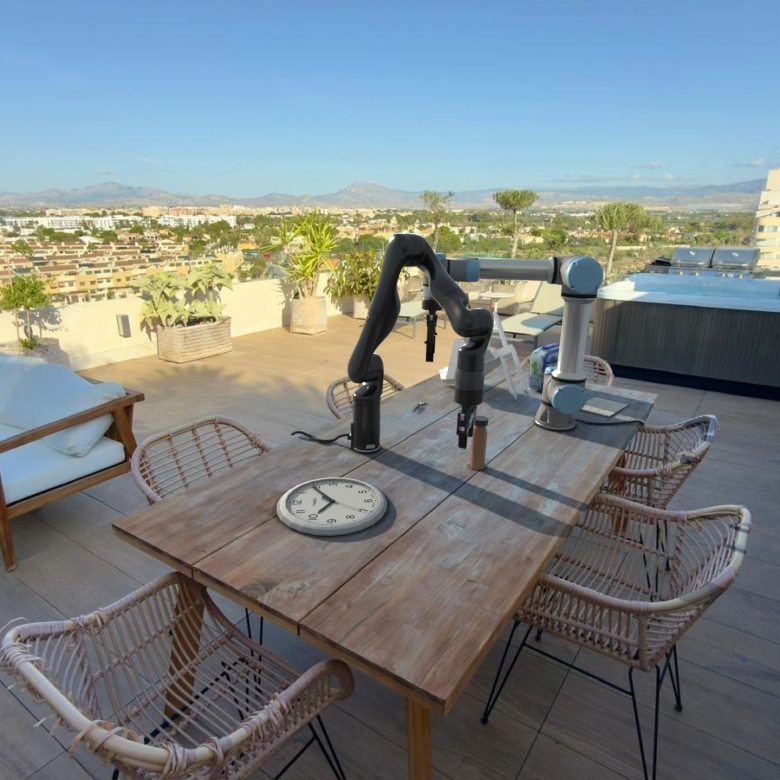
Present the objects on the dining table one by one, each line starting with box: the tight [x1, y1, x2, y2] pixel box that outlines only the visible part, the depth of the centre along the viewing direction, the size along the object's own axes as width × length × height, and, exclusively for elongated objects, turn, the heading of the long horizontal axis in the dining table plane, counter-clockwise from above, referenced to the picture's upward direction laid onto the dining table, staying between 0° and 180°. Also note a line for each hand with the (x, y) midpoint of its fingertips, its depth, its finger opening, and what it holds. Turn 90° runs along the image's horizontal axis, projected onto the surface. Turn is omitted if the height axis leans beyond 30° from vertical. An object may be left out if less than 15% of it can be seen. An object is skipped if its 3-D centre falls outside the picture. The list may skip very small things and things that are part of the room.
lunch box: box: [528, 343, 560, 392], centre depth 249 cm, size 26×11×21 cm, turn 134°
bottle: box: [469, 425, 488, 471], centre depth 165 cm, size 5×5×16 cm
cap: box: [474, 415, 489, 427], centre depth 163 cm, size 5×5×2 cm
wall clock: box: [276, 476, 388, 537], centre depth 142 cm, size 30×2×30 cm
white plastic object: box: [438, 310, 531, 400], centre depth 245 cm, size 37×45×31 cm
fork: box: [413, 396, 428, 412], centre depth 222 cm, size 3×16×2 cm, turn 160°
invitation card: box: [580, 396, 629, 418], centre depth 226 cm, size 21×1×15 cm
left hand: (465, 442), depth 142 cm, fingers open, 8 cm apart
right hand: (430, 357), depth 190 cm, fingers open, 13 cm apart
